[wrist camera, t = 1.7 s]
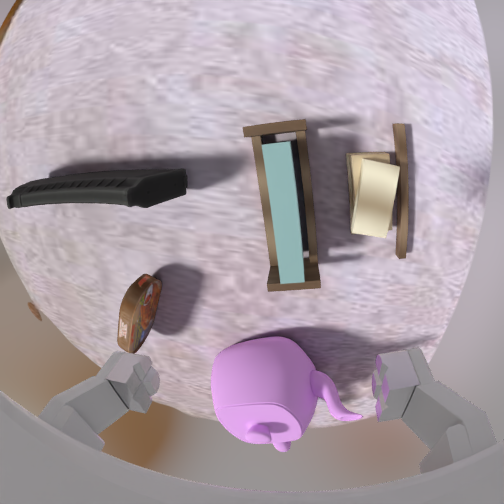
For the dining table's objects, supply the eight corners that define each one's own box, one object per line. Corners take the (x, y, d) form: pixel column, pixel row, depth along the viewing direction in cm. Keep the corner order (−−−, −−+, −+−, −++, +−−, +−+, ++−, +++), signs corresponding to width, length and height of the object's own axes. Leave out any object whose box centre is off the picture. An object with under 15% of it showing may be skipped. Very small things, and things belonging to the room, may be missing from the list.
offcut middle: (348, 154, 28) (351, 155, 27) (385, 152, 27) (389, 153, 26) (354, 229, 32) (357, 233, 30) (388, 226, 31) (392, 230, 30)
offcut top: (361, 158, 27) (364, 159, 26) (395, 165, 26) (399, 166, 25) (350, 228, 30) (352, 232, 29) (382, 233, 30) (385, 238, 29)
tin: (150, 334, 46) (130, 365, 38) (136, 326, 46) (114, 356, 38) (166, 270, 39) (140, 301, 32) (149, 261, 39) (120, 290, 31)
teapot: (252, 407, 51) (240, 467, 37) (205, 339, 44) (175, 410, 30) (360, 388, 44) (369, 454, 31) (341, 307, 37) (356, 389, 24)
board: (269, 143, 30) (261, 144, 23) (290, 140, 29) (289, 141, 22) (283, 252, 35) (280, 283, 28) (303, 250, 35) (304, 282, 28)
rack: (252, 129, 29) (242, 127, 24) (399, 120, 26) (419, 118, 20) (272, 267, 36) (268, 291, 31) (401, 256, 33) (417, 278, 27)
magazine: (179, 179, 24) (-27, 206, 20) (180, 212, 25) (-22, 229, 21) (191, 161, 39) (34, 179, 35) (192, 182, 41) (36, 196, 36)
